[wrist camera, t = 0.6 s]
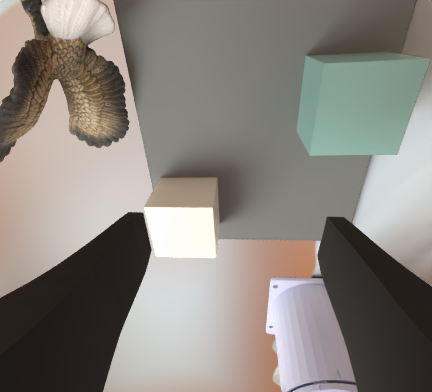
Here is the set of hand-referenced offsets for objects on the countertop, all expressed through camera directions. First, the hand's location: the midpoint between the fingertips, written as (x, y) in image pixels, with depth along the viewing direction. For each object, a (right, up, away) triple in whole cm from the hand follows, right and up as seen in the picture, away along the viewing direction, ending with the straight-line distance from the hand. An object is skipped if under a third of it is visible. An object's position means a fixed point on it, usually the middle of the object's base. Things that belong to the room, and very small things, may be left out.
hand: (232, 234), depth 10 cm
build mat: (+2, +5, +8) cm, 10 cm away
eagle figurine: (-10, +10, +7) cm, 15 cm away
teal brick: (+7, +8, +6) cm, 12 cm away
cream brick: (-3, +1, +11) cm, 11 cm away
